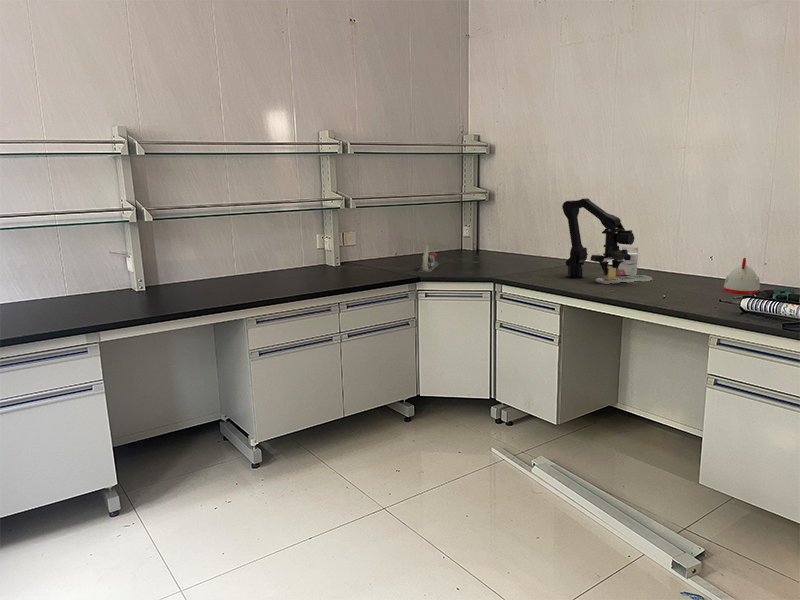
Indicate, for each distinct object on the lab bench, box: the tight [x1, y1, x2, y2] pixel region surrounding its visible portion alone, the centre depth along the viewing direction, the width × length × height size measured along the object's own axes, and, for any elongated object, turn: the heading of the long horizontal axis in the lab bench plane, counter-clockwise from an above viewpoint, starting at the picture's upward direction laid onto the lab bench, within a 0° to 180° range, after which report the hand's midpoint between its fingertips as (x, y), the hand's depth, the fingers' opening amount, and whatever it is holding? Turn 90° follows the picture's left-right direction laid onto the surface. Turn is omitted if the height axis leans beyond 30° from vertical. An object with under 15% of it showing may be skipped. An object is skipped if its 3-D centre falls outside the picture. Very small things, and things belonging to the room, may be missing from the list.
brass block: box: [603, 266, 617, 280], centre depth 290 cm, size 4×4×6 cm
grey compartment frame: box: [595, 274, 653, 285], centre depth 293 cm, size 26×8×2 cm, turn 102°
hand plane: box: [418, 244, 440, 273], centre depth 346 cm, size 7×31×15 cm, turn 167°
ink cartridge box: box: [617, 246, 639, 276], centre depth 307 cm, size 9×5×15 cm, turn 56°
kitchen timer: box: [723, 257, 761, 295], centre depth 261 cm, size 14×14×15 cm
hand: (609, 274), depth 290 cm, fingers closed on brass block, 4 cm apart
